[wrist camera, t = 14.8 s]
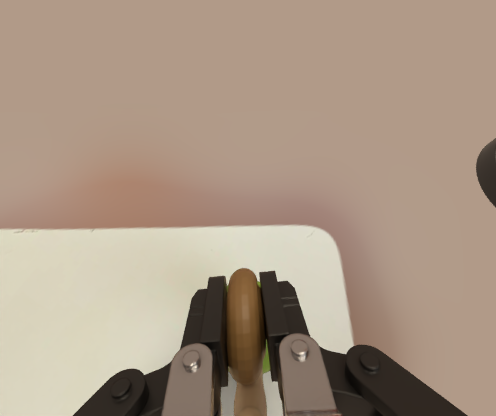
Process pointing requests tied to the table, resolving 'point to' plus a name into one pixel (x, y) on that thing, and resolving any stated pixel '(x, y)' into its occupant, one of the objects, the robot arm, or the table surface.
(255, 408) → the snail figurine
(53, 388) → the table surface
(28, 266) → the table surface
